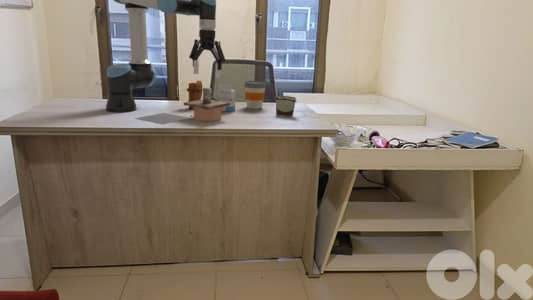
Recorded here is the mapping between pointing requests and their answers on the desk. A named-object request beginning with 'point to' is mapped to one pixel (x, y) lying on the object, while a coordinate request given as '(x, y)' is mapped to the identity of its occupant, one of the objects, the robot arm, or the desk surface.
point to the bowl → (207, 114)
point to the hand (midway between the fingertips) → (206, 75)
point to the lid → (206, 101)
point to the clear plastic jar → (227, 97)
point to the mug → (195, 92)
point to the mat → (162, 118)
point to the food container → (285, 105)
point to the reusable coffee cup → (254, 94)
